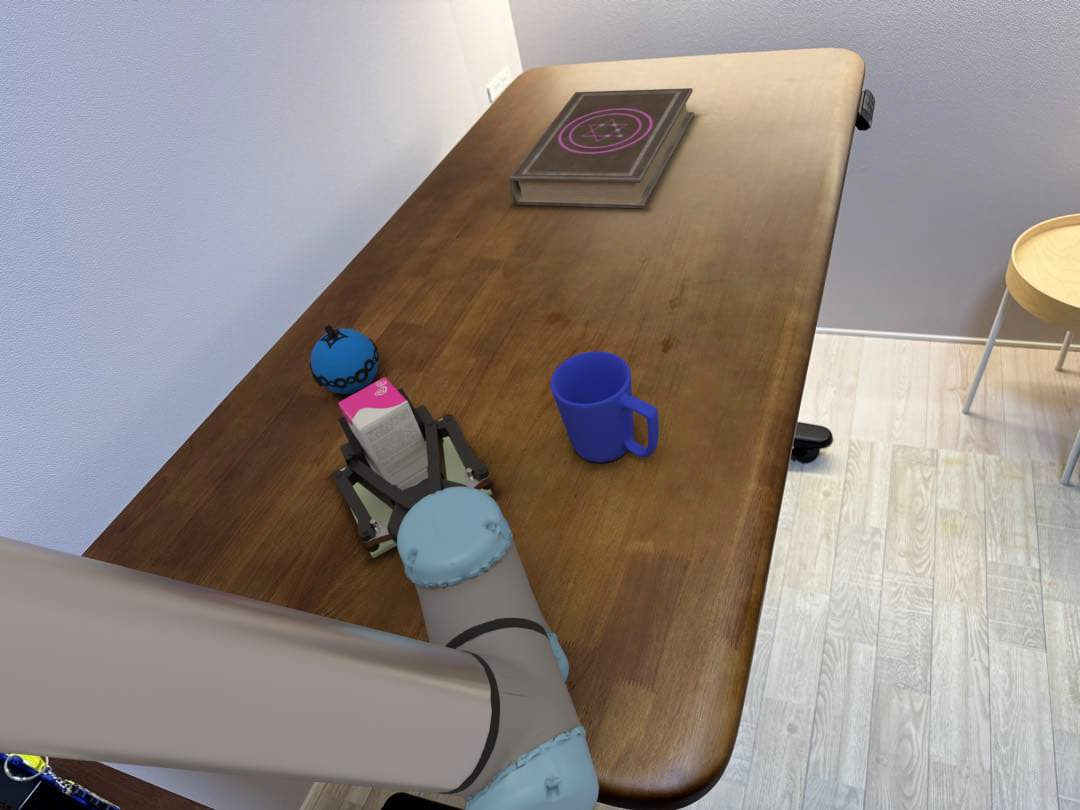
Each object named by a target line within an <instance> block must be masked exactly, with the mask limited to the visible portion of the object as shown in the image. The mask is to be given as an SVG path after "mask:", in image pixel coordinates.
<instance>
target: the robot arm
mask: <svg viewBox="0 0 1080 810" xmlns="http://www.w3.org/2000/svg"><path fill="white" fill-rule="evenodd" d="M397 390H398V391H399V392H400V394H401V395H402V396H403V397H404V398H405V399H406V400H407V401H408V403H409V405H410V408H411V410H412V412H413V415H414V417H415V419H416V422H417V424H418V426H419V429H420V431H421V433H422V435H423V438H424V440H425V441H426V447H427V458H428V467H427V473H428V477H427V478H426V479H424V480H422V481H421V482H419V483H418V484H417V485H415V486H412V487H409V488H406V489H405V490H403V491H402V490H401V489H400V488H398V487H397V486H396V485H394V484H393V485H392V484H390V483H389V482H388V481H386V480H385V479H384V478H382V477H381V476H380V475H378V474H377V473H376V472H374V471H373V470H372V469H371V467H370V465H369V463H368V461H367V459H366V457H365V455H364V453H363V451H362V449H361V447H360V445H359V444H358V442H357V440H356V438H355V436H354V434H353V432H352V430H351V428H350V426H349V424H348V422H347V420H346V418H345V416H344V415H343V416H342V417H340V418H338V419H337V421H338V422H339V425H340V426H341V428H342V431H343V433H344V434H345V436H346V438H347V442H346V443H344V444H342V445H340V452H341V454H342V456H343V459H344V462H345V464H346V466H345V467H346V468H345V467H344V468H345V469H344V470H343V471H342V470H341V469H339V470H336V471H334V473H333V474H332V479H333V481H334V483H335V484H336V486H337V487H338V489H339V491H340V493H341V494H342V496H343V497H344V499H345V501H346V503H347V504H348V506H349V509H350V510H351V512H352V511H353V513H354V515H355V516H356V518H357V520H358V524H357V534H358V537H359V538H360V540H361V542H362V543H363V545H364V546H365V548H366V550H367V551H368V552H369V553H370V552H375V551H377V550H378V548H379V546H380V544H379V543H383V542H386V541H390V540H393V541H394V542H395V543H397V546H396V547H397V551H398V555H399V557H400V560H401V561H402V564H403V566H404V573H405V576H406V577H407V579H408V580H410V581H411V582H412V584H414V587H415V590H416V593H417V595H418V599H419V602H420V608H421V612H422V615H423V620H424V625H425V629H426V634H427V639H428V642H427V641H423V640H419V639H415V638H411V637H407V636H403V635H400V634H395V633H391V632H387V631H383V630H380V629H375V628H372V627H368V626H367V627H366V626H363V625H359V624H355V623H351V622H347V621H343V620H340V619H335V618H331V617H327V616H323V615H320V614H316V613H312V612H307V611H302V610H299V609H295V608H291V607H287V606H283V605H279V604H274V603H271V602H266V601H263V600H259V599H255V598H252V597H251V598H250V597H247V596H242V595H239V594H235V593H230V592H227V591H222V590H218V589H215V588H210V587H207V586H202V585H198V584H194V583H190V582H187V581H183V580H178V579H175V578H170V577H166V576H162V575H159V574H155V573H151V572H146V571H143V570H139V569H134V568H130V567H126V566H123V565H118V564H114V563H110V562H106V561H102V560H98V559H94V558H90V557H86V556H83V555H78V554H74V553H70V552H66V551H63V550H58V549H55V548H50V547H46V546H42V545H37V544H34V543H31V542H30V543H29V542H25V541H22V540H17V539H14V538H9V537H6V536H2V535H0V754H10V755H11V754H13V755H23V756H31V757H32V756H33V757H45V758H54V759H55V758H56V759H64V760H74V761H75V760H76V761H86V762H98V763H109V764H118V765H127V766H128V765H129V766H139V767H149V768H150V767H151V768H161V769H170V770H171V769H172V770H183V771H193V772H194V771H195V772H204V773H214V774H215V773H216V774H226V775H237V776H245V777H256V778H257V777H258V778H266V779H267V778H268V779H278V780H290V781H299V782H301V781H302V782H312V783H321V784H333V785H343V786H353V787H363V788H374V789H384V790H396V791H397V790H398V791H407V792H417V793H418V792H419V793H428V794H439V795H446V796H452V797H462V799H463V800H464V809H463V810H593V809H594V808H595V806H596V803H597V801H598V799H599V798H598V797H599V793H600V785H599V780H598V776H597V773H596V769H595V766H594V763H593V759H592V756H591V752H590V748H589V745H588V742H587V738H586V736H587V732H586V730H585V728H584V725H582V724H581V721H580V718H579V716H578V713H577V711H576V707H575V705H574V703H573V702H574V701H573V700H572V697H571V695H570V692H569V690H568V686H567V684H566V682H567V679H568V677H569V671H570V665H569V660H568V657H567V655H566V654H565V652H564V650H563V648H562V647H561V644H560V643H559V638H558V636H557V634H556V632H553V631H552V629H551V628H550V626H549V624H548V623H547V620H546V619H545V618H544V616H543V614H542V611H541V609H540V607H539V604H538V601H537V599H536V598H537V597H536V595H535V593H534V591H533V588H532V585H531V584H530V581H529V578H528V577H527V574H526V571H525V568H524V566H523V562H522V559H521V557H520V554H519V551H518V549H517V545H516V543H515V540H514V538H513V537H514V535H513V531H512V530H511V526H510V522H509V521H508V520H507V519H506V518H505V517H504V514H503V512H502V510H501V508H500V506H499V505H498V503H497V502H496V501H495V499H494V498H493V497H492V496H491V495H490V496H489V495H488V494H486V493H484V492H483V491H481V489H484V490H492V489H493V487H494V481H493V478H492V476H491V472H490V471H489V468H488V466H487V464H485V463H483V462H482V461H481V460H479V459H477V458H476V457H475V455H474V453H473V451H472V449H471V447H470V445H469V443H468V441H467V439H466V438H465V436H464V434H463V432H462V430H461V428H460V427H459V424H458V422H457V421H456V419H455V416H453V415H452V414H447V415H444V416H443V417H442V418H443V419H442V418H441V419H442V420H440V419H438V420H439V421H438V420H436V419H434V417H433V415H432V414H431V412H430V411H429V410H428V408H427V406H426V405H424V404H420V405H418V406H417V407H415V406H414V405H413V402H412V401H411V400H410V398H409V397H408V395H407V394H406V392H405V391H404V389H403V387H400V388H399V389H397ZM444 437H449V438H450V440H451V442H452V444H453V446H454V448H455V449H456V451H457V453H458V455H459V457H460V459H461V461H462V463H463V465H464V467H465V469H466V474H465V478H466V481H467V482H466V484H465V485H464V484H460V483H457V482H453V481H449V480H447V475H446V466H445V457H444V447H443V443H444V440H443V438H444ZM357 482H358V483H359V484H361V485H362V486H363V487H364V488H366V489H367V490H368V491H370V492H371V493H372V494H373V495H375V496H376V497H377V498H378V499H380V500H381V501H382V502H384V503H385V504H386V505H387V506H389V507H390V508H391V509H392V510H393V511H392V514H391V517H390V520H389V523H388V526H383V525H382V524H381V522H380V521H376V520H375V519H372V518H371V516H370V514H369V513H368V511H367V509H366V507H365V506H364V504H363V503H362V501H361V499H360V498H359V496H358V494H357V493H356V491H355V489H354V488H353V486H354V485H355V484H356V483H357ZM353 513H352V514H353ZM354 515H353V516H354Z"/></svg>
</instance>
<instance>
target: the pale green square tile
mask: <svg viewBox="0 0 1080 810" xmlns="http://www.w3.org/2000/svg"><path fill="white" fill-rule="evenodd" d="M442 419H443V417H442V418H439V419H438V420H437V421H439V420H442ZM443 440H444V443H443V447H444V457H445V466H446V475H447V480H449V481H453V482H457V483H460V484H464V485H465V484H466V482H467V481H466V478H465V474H466V469H465V467H464V465H463V463H462V461H461V459H460V457H459V455H458V453H457V451H456V449H455V448H454V446H453V444H452V442H451V440H450V438H449V437H444V438H443ZM425 443H426V441H425ZM345 468H346V466H345V467H342V468H341V469H340V470H342V471H343V470H344V469H345ZM353 488H354V489H355V491H356V493H357V494H358V496H359V498H360V499H361V501H362V503H363V504H364V506H365V507H366V509H367V511H368V513H369V514H370V516H371V518H372V519H375V520H376V521H380V522H381V524H382V525H383V526H388V523H389V520H390V517H391V514H392V511H393V510H392V509H391V508H390V507H389V506H387V505H386V504H385V503H384V502H382V501H381V500H380V499H378V498H377V497H376V496H375V495H373V494H372V493H371V492H370V491H368V490H367V489H366V488H364V487H363V486H362V485H361V484H359V483H358V482H357V483H356V484H355V485H354V486H353ZM481 491H483V492H484V493H486V494H488V495H489V496H490V497H491V496H492V495H493V492H492V489H490V490H484V489H481ZM351 512H352V515H353V517H354V519H355V522H356V524H357V525H358V520H357V518H356V516H355V515H354V513H353V511H352V510H351ZM379 544H380V546H379V548H378V550H377V551H375V552H369V553H370V556H371V557H372V559H375V558H376V557H379V556H380V555H383V554H384V553H386V552H388V551H389V550H391V549H393V548H395V547H397V543H395V542H394V541H393V540H390V541H386V542H383V543H379Z"/></svg>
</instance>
